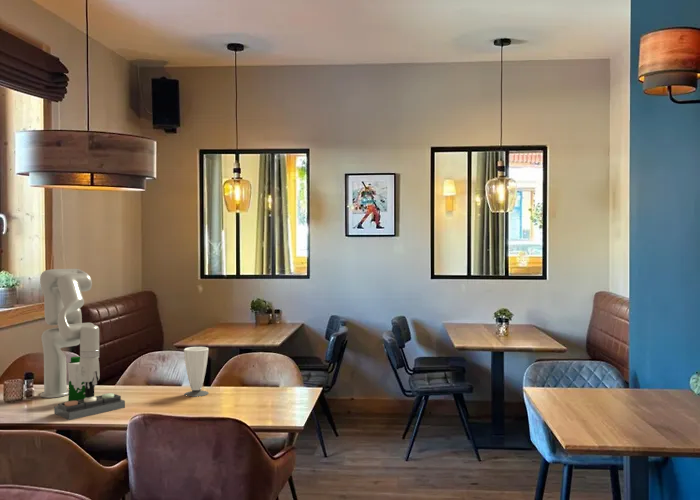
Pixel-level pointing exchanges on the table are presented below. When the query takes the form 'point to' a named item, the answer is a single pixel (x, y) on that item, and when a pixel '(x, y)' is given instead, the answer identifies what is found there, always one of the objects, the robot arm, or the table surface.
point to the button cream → (90, 399)
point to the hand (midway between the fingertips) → (89, 396)
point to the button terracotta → (71, 403)
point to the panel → (89, 407)
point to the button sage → (107, 395)
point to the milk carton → (75, 381)
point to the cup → (196, 369)
